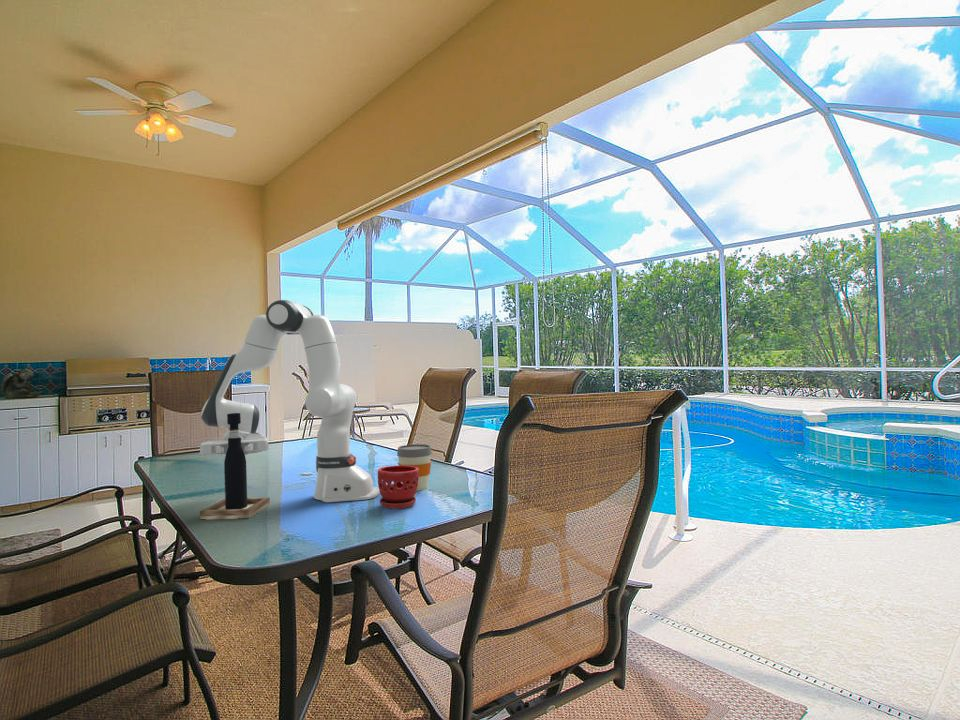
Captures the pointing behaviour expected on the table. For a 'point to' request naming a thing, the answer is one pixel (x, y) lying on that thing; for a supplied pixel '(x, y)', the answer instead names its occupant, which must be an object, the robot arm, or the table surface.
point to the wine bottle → (235, 467)
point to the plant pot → (398, 486)
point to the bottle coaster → (221, 513)
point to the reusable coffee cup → (417, 461)
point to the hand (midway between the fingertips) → (234, 449)
